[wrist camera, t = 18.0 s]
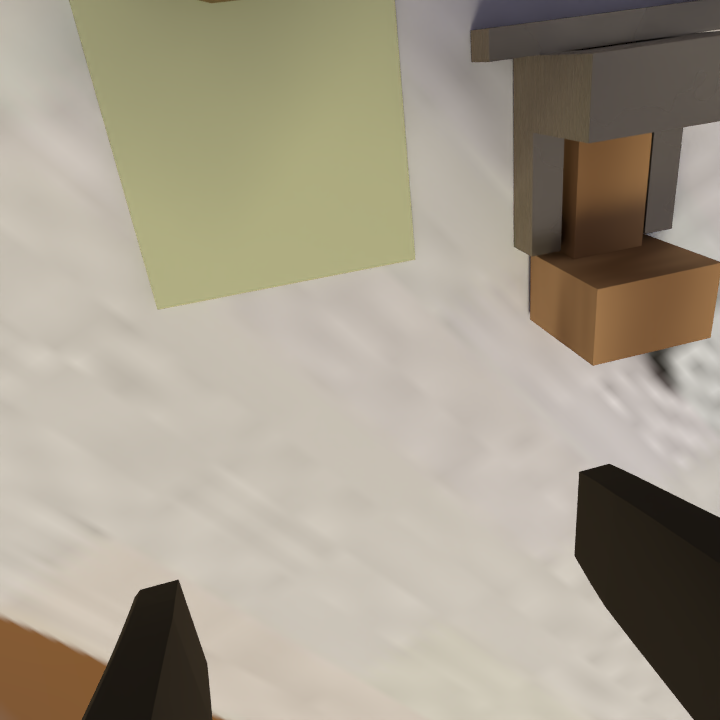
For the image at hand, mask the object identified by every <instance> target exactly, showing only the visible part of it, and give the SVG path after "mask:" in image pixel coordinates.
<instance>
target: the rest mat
mask: <svg viewBox="0 0 720 720" xmlns="http://www.w3.org/2000/svg"><path fill="white" fill-rule="evenodd" d="M69 2H70V5H71V9H72V12H73V16H74V19H75V23H76V26H77V30H78V33H79V37H80V40H81V44H82V47H83V51H84V54H85V58H86V61H87V65H88V68H89V72H90V75H91V79H92V82H93V86H94V89H95V93H96V96H97V100H98V103H99V107H100V110H101V114H102V117H103V121H104V124H105V128H106V131H107V135H108V138H109V142H110V145H111V149H112V152H113V156H114V159H115V162H116V166H117V169H118V173H119V176H120V180H121V183H122V187H123V190H124V194H125V197H126V201H127V204H128V208H129V211H130V215H131V218H132V222H133V225H134V229H135V232H136V236H137V239H138V243H139V246H140V250H141V253H142V257H143V260H144V264H145V267H146V271H147V274H148V278H149V281H150V285H151V288H152V292H153V295H154V299H155V302H156V306H157V309H158V310H159V309H164V308H169V307H174V306H179V305H184V304H190V303H195V302H200V301H205V300H210V299H215V298H220V297H225V296H231V295H236V294H241V293H246V292H251V291H256V290H261V289H266V288H271V287H277V286H282V285H287V284H292V283H297V282H302V281H307V280H312V279H318V278H323V277H328V276H333V275H338V274H343V273H348V272H353V271H358V270H364V269H369V268H374V267H379V266H384V265H389V264H394V263H399V262H404V261H410V260H415V251H414V239H413V226H412V213H411V201H410V188H409V175H408V163H407V150H406V137H405V125H404V112H403V99H402V87H401V74H400V61H399V49H398V36H397V24H396V11H395V0H236V1H227V2H219V3H208V2H204V1H199V0H69Z"/></svg>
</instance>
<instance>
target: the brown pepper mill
mask: <svg viewBox="0 0 720 720" xmlns="http://www.w3.org/2000/svg"><path fill="white" fill-rule="evenodd" d="M199 1H204V2H208V3H219V2H227V1H236V0H199Z"/></svg>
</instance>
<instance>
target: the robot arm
mask: <svg viewBox="0 0 720 720" xmlns="http://www.w3.org/2000/svg"><path fill="white" fill-rule="evenodd" d="M575 557H576V559H577V561H578V563H579V564H580V566H581V568H582V569H583V571H584V573H585V575H586V576H587V578H588V580H589V581H590V583H591V585H592V586H593V588H594V590H595V591H596V593H597V594H598V596H599V598H600V599H601V601H602V602H603V604H604V605H605V607H606V608H607V610H608V611H609V612H610V613H611V615H612V616H613V617H614V619H615V620H616V621H617V623H618V624H619V625H620V626H621V628H622V629H623V630H624V632H625V633H626V634H627V636H628V637H629V638H630V639H631V641H632V642H633V643H634V645H635V646H636V647H637V648H638V650H639V651H640V652H641V653H642V655H643V656H644V657H645V658H646V660H647V661H648V662H649V664H650V665H651V666H652V667H653V669H654V670H655V671H656V672H657V674H658V675H659V676H660V677H661V679H662V680H663V681H664V683H665V684H666V685H667V686H668V688H669V689H670V690H671V691H672V693H673V694H674V695H675V696H676V698H677V699H678V700H679V702H680V703H681V704H682V705H683V707H684V708H685V709H686V710H687V712H688V713H689V714H690V716H691V717H692V718H693V719H694V720H720V517H718V516H715V515H713V514H711V513H709V512H707V511H705V510H703V509H701V508H699V507H697V506H695V505H693V504H691V503H689V502H687V501H685V500H683V499H681V498H679V497H677V496H675V495H673V494H671V493H669V492H667V491H665V490H663V489H661V488H659V487H657V486H655V485H653V484H651V483H649V482H647V481H645V480H643V479H641V478H639V477H637V476H635V475H633V474H630V473H628V472H626V471H624V470H622V469H620V468H618V467H615V466H613V465H611V464H607V465H603V466H599V467H596V468H592V469H588V470H584V471H581V472H579V485H578V503H577V521H576V539H575ZM82 720H212V711H211V699H210V688H209V677H208V667H207V662H206V659H205V656H204V653H203V650H202V647H201V644H200V641H199V638H198V635H197V632H196V630H195V627H194V624H193V621H192V618H191V615H190V612H189V609H188V606H187V603H186V600H185V597H184V594H183V591H182V589H181V586H180V583H179V580H175V581H172V582H168V583H164V584H160V585H157V586H153V587H149V588H146V589H142V590H140V591H139V592H138V594H137V595H136V596H135V598H134V601H133V604H132V606H131V609H130V611H129V614H128V617H127V619H126V622H125V624H124V627H123V629H122V632H121V634H120V636H119V639H118V641H117V644H116V646H115V648H114V651H113V653H112V655H111V657H110V660H109V662H108V664H107V667H106V669H105V671H104V674H103V676H102V678H101V680H100V682H99V684H98V686H97V688H96V691H95V693H94V695H93V697H92V699H91V701H90V703H89V705H88V708H87V710H86V712H85V714H84V716H83V718H82Z"/></svg>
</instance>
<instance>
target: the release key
mask: <svg viewBox="0 0 720 720" xmlns="http://www.w3.org/2000/svg"><path fill="white" fill-rule="evenodd" d="M651 139H652V133H647V134H641V135H635V136H629V137H623V138H617V139H612V140H606V141H600V142H594V143H584V142H579V141H573V140H568V139H564V165H563V196H562V228H561V251H557V252H552V253H547V254H542V255H537V256H531V289H530V320H532V321H533V322H534V323H536V324H537V325H538V326H540V327H541V328H542V329H544V330H545V331H547V332H548V333H549V334H551V335H552V336H553V337H555V338H556V339H557V340H559V341H560V342H561V343H563V344H564V345H566V346H567V347H568V348H570V349H571V350H572V351H574V352H575V353H576V354H578V355H579V356H580V357H582V358H583V359H585V360H586V361H587V362H589V363H590V364H591V365H593V366H594V365H598V364H602V363H606V362H610V361H615V360H619V359H623V358H627V357H631V356H635V355H640V354H644V353H648V352H652V351H656V350H661V349H665V348H669V347H673V346H677V345H682V344H686V343H690V342H694V341H698V340H703V339H707V338H710V337H711V331H712V324H713V318H714V311H715V305H716V298H717V292H718V286H719V279H720V262H719V261H716V260H713V259H711V258H708V257H705V256H702V255H700V254H697V253H694V252H692V251H689V250H686V249H683V248H681V247H678V246H675V245H672V244H670V243H667V242H664V241H662V240H659V239H656V238H653V237H651V236H648V235H645V234H643V226H644V215H645V204H646V193H647V183H648V172H649V161H650V150H651Z"/></svg>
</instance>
